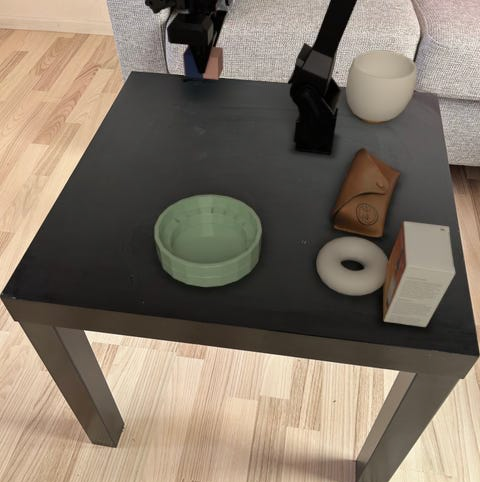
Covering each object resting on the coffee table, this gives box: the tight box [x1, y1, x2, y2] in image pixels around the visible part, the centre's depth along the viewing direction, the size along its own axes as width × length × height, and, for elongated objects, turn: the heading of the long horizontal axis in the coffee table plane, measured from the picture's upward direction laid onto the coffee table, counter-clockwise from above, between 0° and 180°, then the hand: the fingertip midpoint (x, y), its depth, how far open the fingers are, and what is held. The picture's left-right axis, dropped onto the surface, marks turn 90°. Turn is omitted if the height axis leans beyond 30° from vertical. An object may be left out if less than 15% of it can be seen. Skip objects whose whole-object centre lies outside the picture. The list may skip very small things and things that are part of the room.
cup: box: [345, 49, 417, 124], centre depth 89 cm, size 12×12×10 cm
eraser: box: [181, 45, 224, 81], centre depth 81 cm, size 6×4×4 cm
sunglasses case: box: [329, 147, 402, 239], centre depth 76 cm, size 18×7×7 cm
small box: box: [382, 220, 456, 328], centre depth 60 cm, size 8×6×10 cm
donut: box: [315, 236, 389, 297], centre depth 66 cm, size 10×4×10 cm
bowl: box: [154, 193, 263, 288], centre depth 68 cm, size 15×15×4 cm
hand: (204, 67), depth 82 cm, fingers closed on eraser, 4 cm apart
